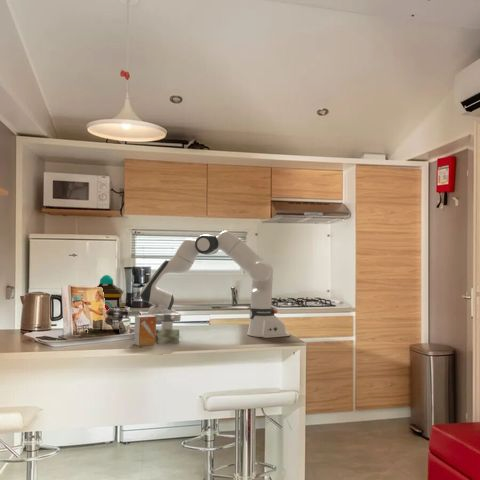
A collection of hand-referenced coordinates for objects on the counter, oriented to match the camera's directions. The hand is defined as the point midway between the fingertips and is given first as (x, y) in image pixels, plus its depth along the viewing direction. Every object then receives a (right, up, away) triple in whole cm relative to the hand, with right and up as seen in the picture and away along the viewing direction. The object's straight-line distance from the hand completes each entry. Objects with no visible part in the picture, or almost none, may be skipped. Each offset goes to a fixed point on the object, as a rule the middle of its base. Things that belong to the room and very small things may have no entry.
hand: (162, 319), depth 225 cm
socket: (+4, -8, -11) cm, 14 cm away
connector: (+4, -8, -11) cm, 14 cm away
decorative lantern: (-33, -9, +13) cm, 37 cm away
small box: (-5, -8, -20) cm, 22 cm away
